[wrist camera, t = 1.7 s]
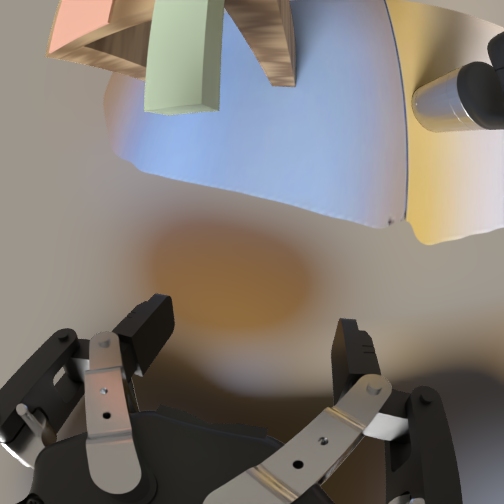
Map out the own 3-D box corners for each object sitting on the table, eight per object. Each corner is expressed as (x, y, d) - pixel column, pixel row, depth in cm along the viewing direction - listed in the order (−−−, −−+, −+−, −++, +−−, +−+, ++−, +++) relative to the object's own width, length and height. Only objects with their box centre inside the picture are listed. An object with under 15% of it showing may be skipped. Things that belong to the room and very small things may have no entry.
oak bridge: (295, 39, 37) (272, -81, 7) (295, 86, 40) (273, -12, 11) (180, 48, 40) (64, -14, 11) (177, 92, 44) (45, 56, 15)
